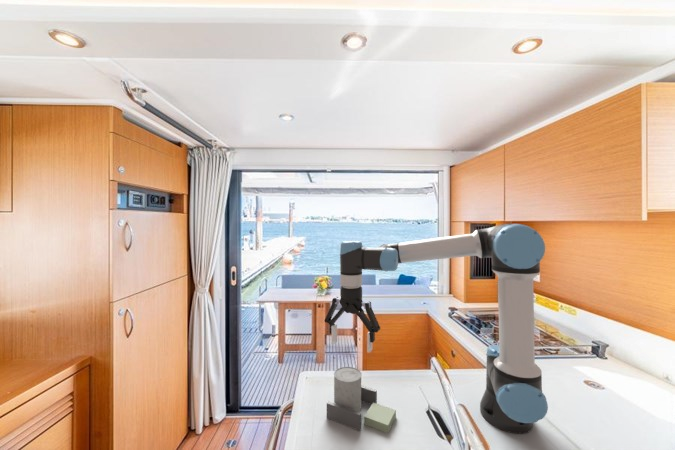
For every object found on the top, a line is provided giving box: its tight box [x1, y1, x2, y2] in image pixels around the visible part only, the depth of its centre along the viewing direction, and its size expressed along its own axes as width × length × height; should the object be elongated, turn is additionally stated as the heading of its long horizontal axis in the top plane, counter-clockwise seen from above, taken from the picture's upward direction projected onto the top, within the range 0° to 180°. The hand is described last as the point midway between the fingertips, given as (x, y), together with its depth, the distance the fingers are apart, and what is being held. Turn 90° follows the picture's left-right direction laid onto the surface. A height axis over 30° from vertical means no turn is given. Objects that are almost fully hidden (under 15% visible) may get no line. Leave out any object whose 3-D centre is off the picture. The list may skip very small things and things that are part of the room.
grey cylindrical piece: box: [333, 366, 363, 414], centre depth 98 cm, size 10×10×12 cm
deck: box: [363, 402, 397, 434], centre depth 93 cm, size 8×8×2 cm
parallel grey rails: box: [326, 384, 378, 432], centre depth 98 cm, size 12×15×5 cm
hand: (351, 346), depth 98 cm, fingers open, 13 cm apart
